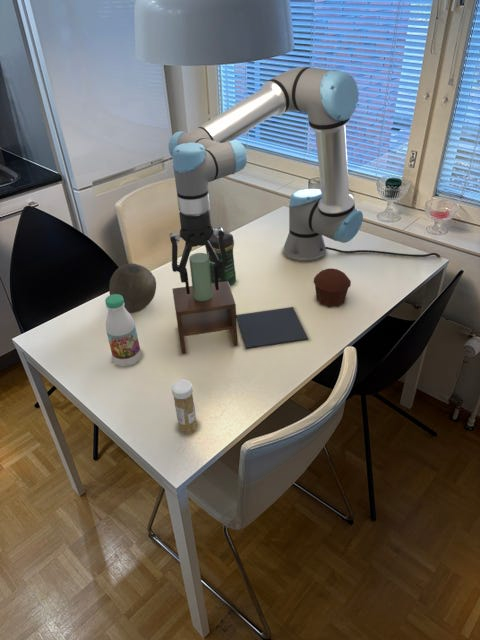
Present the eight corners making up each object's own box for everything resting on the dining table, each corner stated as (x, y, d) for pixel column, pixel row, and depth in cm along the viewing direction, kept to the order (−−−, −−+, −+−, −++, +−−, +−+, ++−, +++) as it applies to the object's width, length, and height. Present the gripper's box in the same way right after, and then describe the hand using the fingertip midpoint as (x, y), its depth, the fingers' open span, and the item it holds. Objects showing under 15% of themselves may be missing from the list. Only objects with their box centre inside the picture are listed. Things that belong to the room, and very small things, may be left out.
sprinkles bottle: (200, 431, 115) (194, 389, 107) (181, 437, 114) (174, 395, 106) (194, 417, 118) (188, 376, 110) (176, 423, 117) (169, 381, 109)
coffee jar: (240, 282, 167) (238, 232, 156) (222, 291, 163) (219, 241, 152) (221, 272, 173) (218, 223, 162) (204, 281, 169) (199, 231, 158)
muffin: (356, 300, 156) (359, 273, 150) (332, 314, 150) (335, 286, 144) (328, 285, 163) (330, 259, 157) (304, 298, 158) (306, 271, 152)
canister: (211, 289, 137) (207, 251, 130) (213, 299, 133) (210, 261, 126) (192, 292, 137) (188, 254, 130) (194, 302, 133) (190, 263, 125)
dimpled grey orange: (133, 327, 149) (124, 285, 140) (105, 310, 156) (95, 269, 148) (168, 306, 157) (161, 265, 148) (139, 291, 165) (131, 251, 156)
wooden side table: (230, 321, 149) (228, 280, 141) (237, 345, 140) (235, 304, 131) (178, 328, 147) (172, 288, 139) (181, 354, 138) (175, 312, 129)
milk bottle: (110, 355, 139) (94, 295, 127) (136, 345, 142) (123, 287, 130) (118, 370, 133) (103, 310, 121) (145, 360, 136) (133, 300, 124)
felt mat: (292, 308, 153) (292, 306, 153) (307, 339, 141) (308, 338, 140) (236, 316, 151) (235, 315, 151) (246, 349, 138) (246, 347, 138)
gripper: (232, 199, 124) (236, 277, 138) (152, 208, 122) (164, 287, 135) (237, 211, 118) (241, 291, 132) (153, 221, 116) (166, 302, 129)
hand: (202, 289), depth 134 cm, fingers open, 7 cm apart
